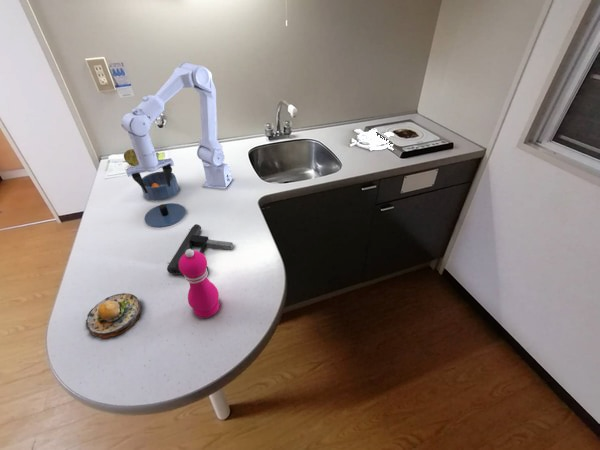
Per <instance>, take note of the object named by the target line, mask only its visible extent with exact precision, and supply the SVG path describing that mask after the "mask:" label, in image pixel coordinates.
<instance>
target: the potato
mask: <svg viewBox="0 0 600 450" xmlns="http://www.w3.org/2000/svg"><path fill="white" fill-rule="evenodd" d="M123 159H124V161H125V162H126V163H127V165H129V166H132V167H134V166H136V165H139V162H138V159H137V156H136V154H135V151H134V148H132V149H127V150H126V151H125V152H124V153H123Z"/></svg>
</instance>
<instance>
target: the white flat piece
mask: <svg viewBox="0 0 600 450" xmlns="http://www.w3.org/2000/svg"><path fill="white" fill-rule="evenodd" d="M353 132H354V133H356V134H357V135H356V139H355V138H353V137H352V138H351V140H350V141H351V143H350V144H349V147H354V146H357V147H359V148H362V149H365V150H369V151H370V152H371V151H374V150H375V151H380V150H385V149H389V150H390V151H394V148H393V146H394V143H393V144H390V143H391V142H389V141H390V139H389V140H387V141H386V138H385V140H384V138H383V137H382V136H381V137H382V138H383V139H382V138H380V135H378V136H377V133H376V132H379V131H378V128H371V129H370V130H368V131H364V130H362V129H361V128H358V129H357V128H356V129H354V130H353ZM383 134H384V135H386V136H387V137H388V138H389V137H391V136H395V133H393V132H391V131H386V132H384V133H383ZM389 144H390V145H389Z"/></svg>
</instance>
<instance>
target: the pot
mask: <svg viewBox="0 0 600 450" xmlns="http://www.w3.org/2000/svg"><path fill="white" fill-rule="evenodd" d="M142 180H143V183H144V185H145V187H146V190H147V192H148V193H145V191H144V190H143V188H142V187H141V186H140V188H141V192H142V194H143V196H144V198H145V199H147V200H149V201H153V202H154V201H155V202H156V201H163V200H167V199H170V198H172V197H174V196H175V195H176V194H177V193H178V192H179V189H180V187H179V183H178V181H177V178H176V175H175V173H173V172H172V173H171V177H170V185H171V186H170V187H168V185H167V182H166V178H165V175H164V172H163V170H162V171H154V172H150V173H148V174H146V175H144V176H143V177H142ZM154 183H157V184H158V185H159V187H151V186H152V184H154Z"/></svg>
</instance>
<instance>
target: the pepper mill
mask: <svg viewBox="0 0 600 450" xmlns="http://www.w3.org/2000/svg"><path fill="white" fill-rule="evenodd" d="M199 251H200V250H199ZM199 251H198V250H193V249H192V248H191V249H188V250H186V252H185V254H184V255H182V257H181V258H180V260H179V269H180V271H181V273H182V274H181V275H183V276H184V279H185V281H186V282H187V283H188V284H189V289H188V293H187V302H188V305H189V307H191V308H192V310H193V313H194V314H195V316H196V317H198V318H199V319H200V318H201V319H207V318H211V317H212V316H214V315H215V314H216V313H217V312H218V311H219V309H220V301H219V296H220V294H219V290H218V288H217V287H216V285H215V284H214V283H213V282H211V281H210V280H209V278H208V274H209V270H208V271H207V268H206V267H207V266H208V260H207V257H206V256H205V254H204V253H203V254H202V253H201V252H199Z"/></svg>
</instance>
